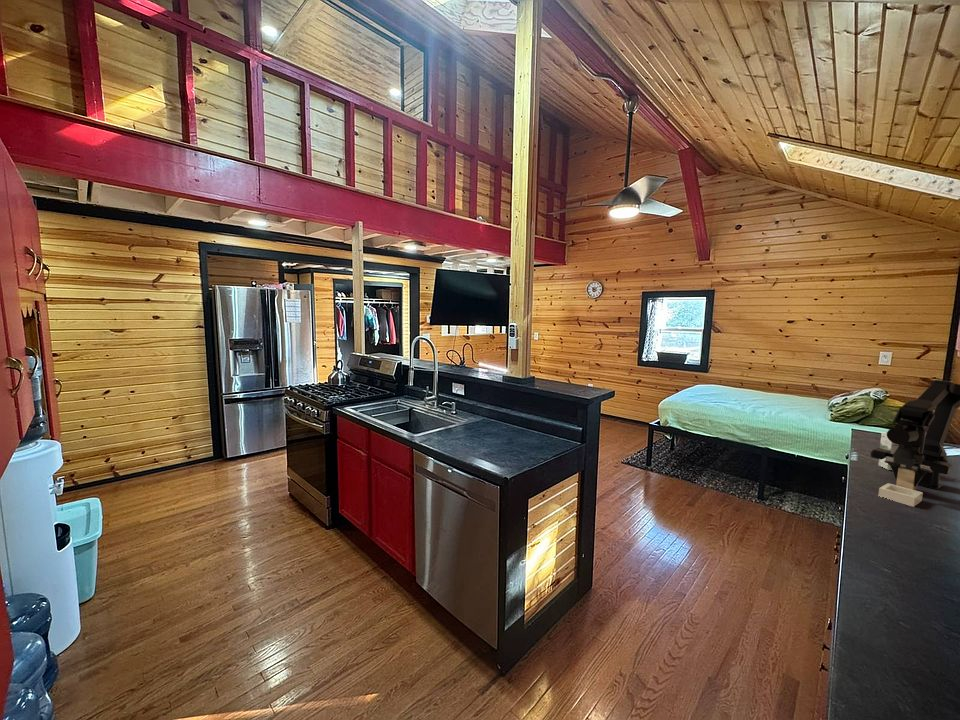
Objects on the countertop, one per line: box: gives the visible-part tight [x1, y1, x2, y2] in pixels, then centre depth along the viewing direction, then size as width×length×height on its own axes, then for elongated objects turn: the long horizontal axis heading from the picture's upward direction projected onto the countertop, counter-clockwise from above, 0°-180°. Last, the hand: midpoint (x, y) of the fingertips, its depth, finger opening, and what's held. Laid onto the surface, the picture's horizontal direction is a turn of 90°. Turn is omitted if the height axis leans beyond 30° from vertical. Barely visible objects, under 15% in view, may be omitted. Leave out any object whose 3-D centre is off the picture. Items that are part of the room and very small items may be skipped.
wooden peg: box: [895, 465, 917, 491], centre depth 139 cm, size 4×4×9 cm
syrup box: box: [877, 431, 906, 472], centre depth 159 cm, size 6×6×14 cm
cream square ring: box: [877, 482, 924, 508], centre depth 133 cm, size 8×8×3 cm
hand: (906, 483), depth 139 cm, fingers closed on wooden peg, 4 cm apart
